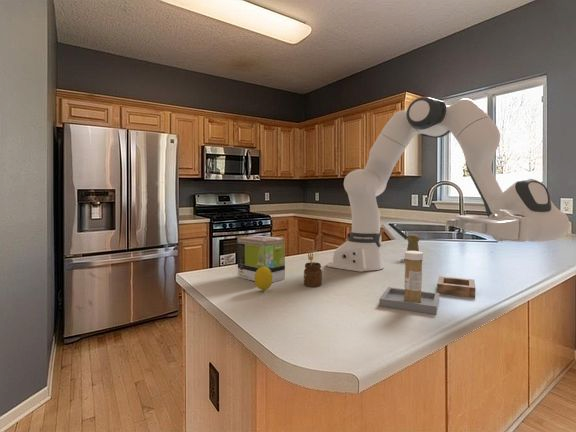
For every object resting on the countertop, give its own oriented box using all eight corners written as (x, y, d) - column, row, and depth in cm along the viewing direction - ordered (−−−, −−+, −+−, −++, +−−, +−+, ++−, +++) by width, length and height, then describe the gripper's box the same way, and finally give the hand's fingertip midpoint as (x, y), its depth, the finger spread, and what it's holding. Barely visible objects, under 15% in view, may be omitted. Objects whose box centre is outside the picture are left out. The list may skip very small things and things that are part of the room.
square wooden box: (437, 292, 100) (437, 283, 100) (439, 284, 109) (439, 276, 109) (475, 297, 96) (475, 287, 95) (474, 288, 104) (474, 279, 104)
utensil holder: (323, 283, 112) (323, 247, 111) (319, 288, 106) (319, 251, 105) (306, 281, 114) (306, 246, 113) (301, 286, 108) (301, 250, 107)
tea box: (286, 279, 118) (285, 237, 117) (265, 285, 111) (264, 240, 109) (257, 272, 128) (257, 234, 127) (236, 277, 121) (236, 236, 120)
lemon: (254, 288, 106) (254, 264, 106) (272, 288, 107) (271, 263, 106) (254, 294, 101) (254, 268, 100) (272, 293, 101) (272, 267, 101)
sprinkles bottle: (403, 297, 94) (404, 249, 93) (421, 298, 93) (422, 250, 92) (404, 302, 90) (405, 252, 89) (422, 304, 88) (423, 253, 87)
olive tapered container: (421, 260, 147) (421, 235, 146) (406, 259, 148) (407, 235, 147) (418, 257, 153) (419, 233, 152) (404, 257, 154) (405, 233, 153)
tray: (379, 306, 89) (379, 298, 89) (388, 293, 100) (388, 287, 100) (436, 314, 83) (436, 306, 83) (439, 300, 94) (439, 293, 93)
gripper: (482, 211, 103) (438, 210, 102) (532, 217, 82) (477, 217, 82) (481, 231, 103) (437, 230, 103) (530, 243, 83) (475, 242, 83)
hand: (455, 224), depth 92 cm, fingers open, 8 cm apart
